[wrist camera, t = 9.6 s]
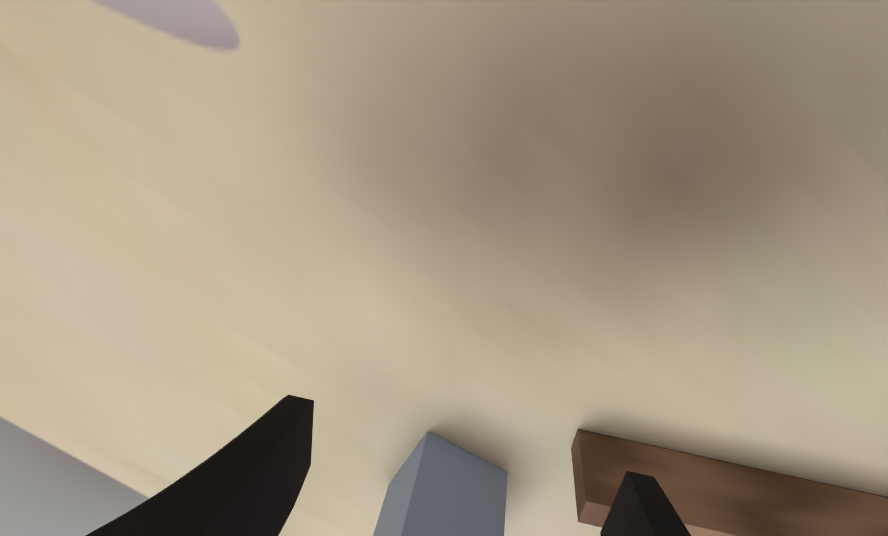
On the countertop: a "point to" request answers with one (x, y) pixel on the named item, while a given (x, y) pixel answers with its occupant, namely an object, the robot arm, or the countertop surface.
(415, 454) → the blue block
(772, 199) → the countertop surface
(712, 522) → the walnut bay
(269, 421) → the robot arm
